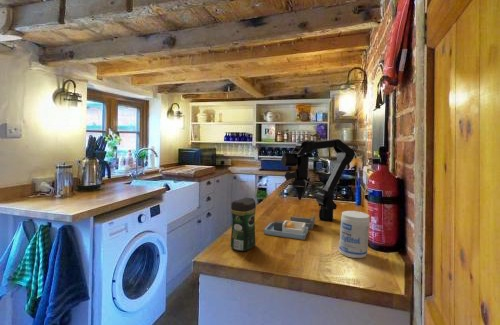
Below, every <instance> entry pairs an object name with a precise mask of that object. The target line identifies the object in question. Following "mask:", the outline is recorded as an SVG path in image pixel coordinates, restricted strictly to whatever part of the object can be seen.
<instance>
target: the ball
mask: <svg viewBox="0 0 500 325" xmlns="http://www.w3.org/2000/svg"><path fill="white" fill-rule="evenodd" d="M286 228H292V229H294V224H293V223H291V222H290V223H288V224H287V225H286Z"/></svg>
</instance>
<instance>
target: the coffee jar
mask: <svg viewBox="0 0 500 325" xmlns="http://www.w3.org/2000/svg"><path fill="white" fill-rule="evenodd" d="M256 208H257V205H256V200H255V199H254V198H253V197H248V196H246V197H245V196H244V197H243V198H238V199H237V200H233V201H232V202H231V203H230V211H231V233H230V248H231V249H232V250H234V251H237V252H247V251H249V250H251V249H252V248H254V247H255V245H256V221H255V220H256V219H255V216H256Z"/></svg>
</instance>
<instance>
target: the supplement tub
mask: <svg viewBox="0 0 500 325" xmlns="http://www.w3.org/2000/svg"><path fill="white" fill-rule="evenodd" d="M370 218H371V217H370V215H369V214H368V213H366V212H363V211H362V212H361V211H358V210H345V211H342V212H341V218H340V230H339V242H338V251H339V252H340V254H342V255H343V256H345V257H348V258H351V259H363V258H366V256H367V255H368V245H369V234H370V223H371V222H370V220H371V219H370Z"/></svg>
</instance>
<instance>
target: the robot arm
mask: <svg viewBox="0 0 500 325" xmlns="http://www.w3.org/2000/svg"><path fill="white" fill-rule="evenodd" d="M329 148H333V150H334V151H335V153H336V163H335V165H334V168H333V170H332V171H331V174H330V175H329V178H328V179H327V181H326V184H325V185H324V187H323V188H321V187H320V188H318V190H317V193H316V194H315V201H316V203H317V204H318V206H319V207H320V209H319V211H318V218H319V221H326V222H333V221H334V210H336V209H337V207H338V205H337V204H336V203H335V201H334V199H335V198H334V197H335V189H336V187H337V185H338V183H339V181H340V179H341V177H342V175H343V173H344V171H345V170H346V169H345V168H346V167H347V166H348V165H349V164H350V163H351V162H352V161H353V160H354V158H355V157H356V152H355V150H354V149H353V148H351V146H349V145H347V144H346V143H344V141H342V140H341V139H338V138H334V139H333V138H332V139H328V140H316V141H313V140H312V141H311V140H299V141H298V140H297V142H296V144H295V147H294V148H293V149H292V151H291V152H286V151H285V152H283V155H282V157H281V159H280V160H281V165H282V167H286V168H287V167H296V168H295V169H294V171H291V172H290V170H289V171H286V172H285V173H284V178H285V180H286V181H290V180H292V179H293V181H292V184H291V185H292V186H293V188H294V189H296V193H297V200H298V201H299V200H302V198H303V197H305V194H306V192H307V190H308V188H309V185H310V183H311V176H310V175H309V171H310V167H309V159H310V158H313V157H314V156H313V154H311V152H314V151H315V150H320V149H329Z"/></svg>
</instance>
